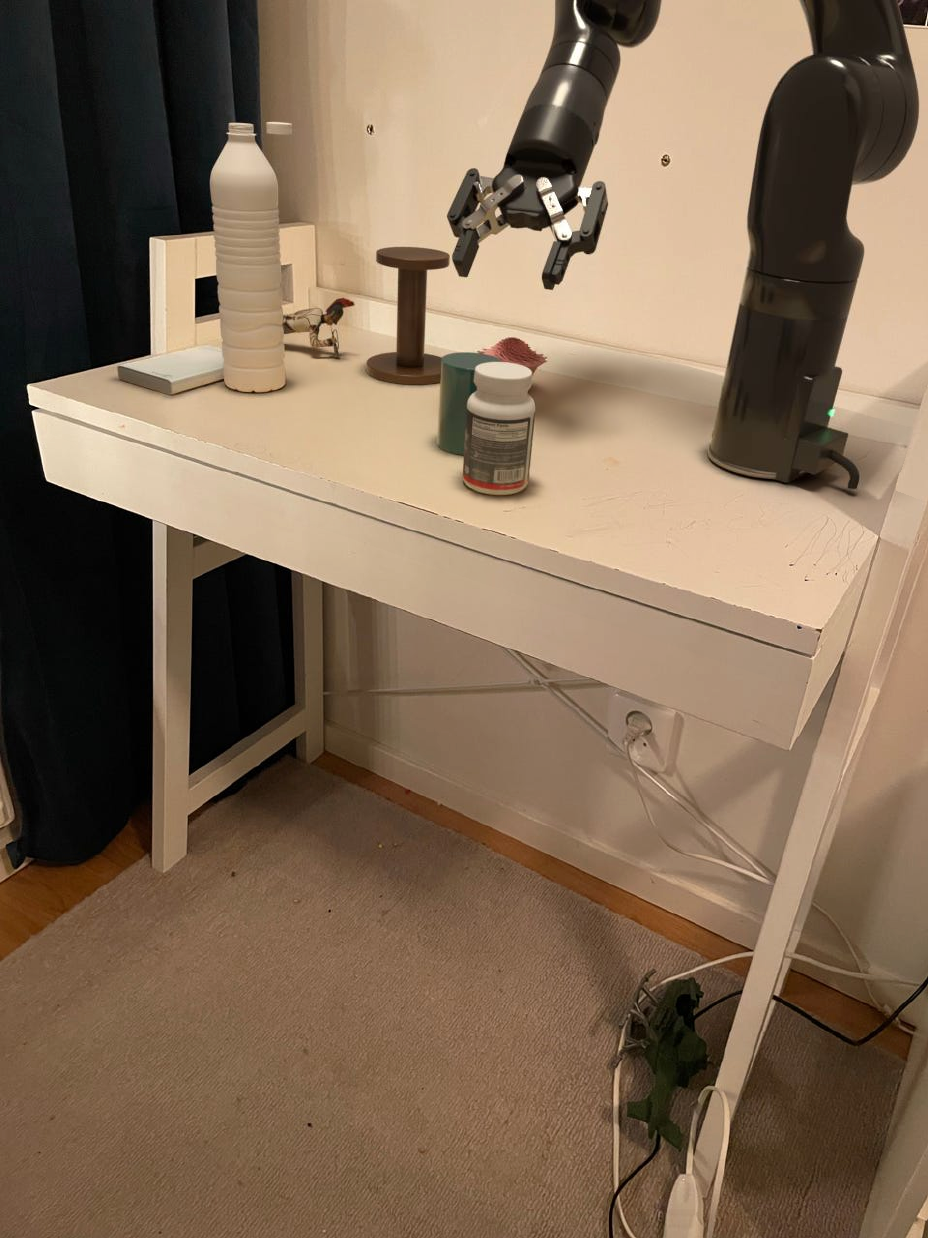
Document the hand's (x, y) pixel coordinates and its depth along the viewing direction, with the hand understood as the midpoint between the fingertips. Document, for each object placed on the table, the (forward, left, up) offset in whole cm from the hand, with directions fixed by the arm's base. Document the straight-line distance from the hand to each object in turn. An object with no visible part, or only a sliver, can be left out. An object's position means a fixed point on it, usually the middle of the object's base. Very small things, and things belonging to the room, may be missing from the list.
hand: (503, 277), depth 85 cm
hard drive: (+32, +14, -15) cm, 38 cm away
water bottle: (+25, +9, -15) cm, 31 cm away
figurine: (+34, -2, -15) cm, 37 cm away
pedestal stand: (+19, -7, -14) cm, 25 cm away
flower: (+8, -12, -15) cm, 21 cm away
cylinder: (-2, +5, -14) cm, 15 cm away
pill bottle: (-10, +10, -15) cm, 20 cm away
